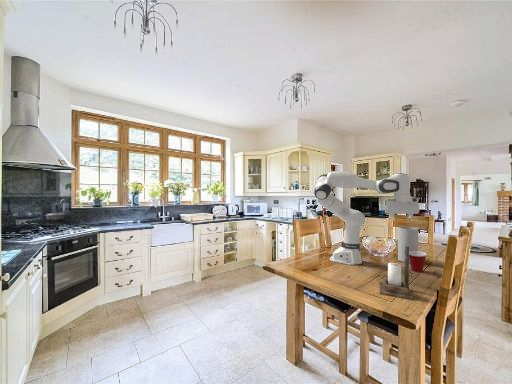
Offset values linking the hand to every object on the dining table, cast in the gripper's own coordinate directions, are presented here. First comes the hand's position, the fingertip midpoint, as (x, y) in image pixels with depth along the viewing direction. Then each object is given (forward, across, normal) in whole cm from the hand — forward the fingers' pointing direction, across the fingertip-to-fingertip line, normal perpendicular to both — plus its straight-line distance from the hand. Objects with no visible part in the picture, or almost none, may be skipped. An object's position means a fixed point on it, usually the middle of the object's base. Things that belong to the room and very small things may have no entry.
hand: (401, 220), depth 144 cm
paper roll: (+33, -19, -23) cm, 44 cm away
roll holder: (+34, -19, -23) cm, 45 cm away
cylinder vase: (+34, +23, +27) cm, 50 cm away
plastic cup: (+34, +15, +7) cm, 38 cm away
